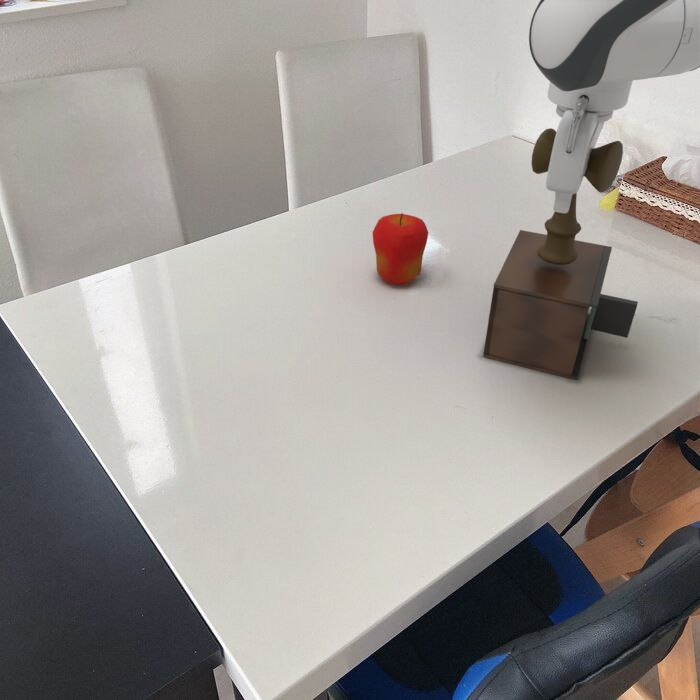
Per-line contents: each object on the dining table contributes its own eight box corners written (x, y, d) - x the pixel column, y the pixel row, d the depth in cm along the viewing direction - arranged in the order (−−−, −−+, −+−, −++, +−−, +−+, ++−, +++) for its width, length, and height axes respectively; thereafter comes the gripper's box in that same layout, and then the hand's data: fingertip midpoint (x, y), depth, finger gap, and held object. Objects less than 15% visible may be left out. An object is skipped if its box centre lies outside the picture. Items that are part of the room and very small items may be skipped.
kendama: (581, 279, 86) (616, 120, 74) (513, 256, 91) (535, 103, 79) (600, 261, 90) (637, 106, 78) (534, 239, 95) (559, 92, 83)
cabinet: (593, 317, 102) (612, 246, 95) (577, 380, 91) (597, 305, 83) (508, 298, 106) (520, 229, 99) (482, 356, 95) (493, 283, 87)
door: (630, 316, 101) (649, 254, 95) (624, 348, 95) (644, 283, 89) (591, 308, 103) (607, 246, 97) (583, 338, 97) (600, 275, 90)
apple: (427, 267, 114) (432, 202, 107) (421, 294, 107) (426, 227, 100) (376, 262, 115) (378, 197, 108) (367, 288, 109) (368, 221, 101)
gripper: (608, 116, 68) (579, 239, 77) (627, 64, 83) (602, 172, 92) (544, 108, 70) (524, 229, 79) (574, 59, 85) (554, 164, 94)
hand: (566, 197), depth 85 cm, fingers closed on kendama, 6 cm apart
